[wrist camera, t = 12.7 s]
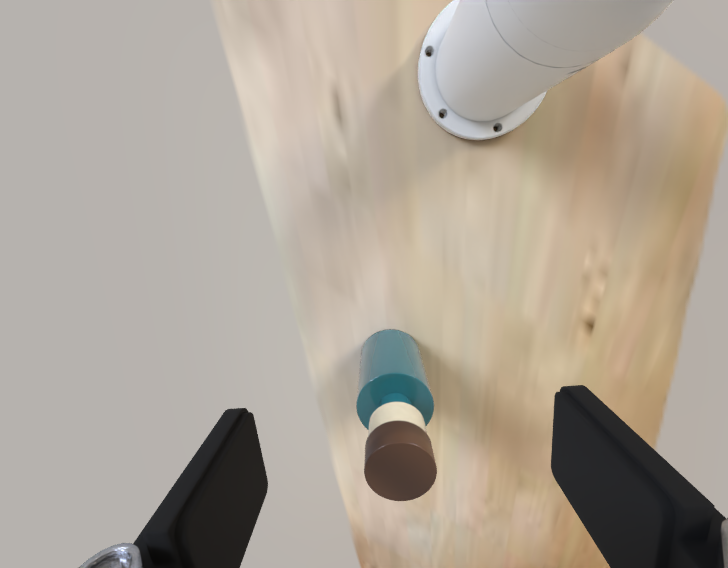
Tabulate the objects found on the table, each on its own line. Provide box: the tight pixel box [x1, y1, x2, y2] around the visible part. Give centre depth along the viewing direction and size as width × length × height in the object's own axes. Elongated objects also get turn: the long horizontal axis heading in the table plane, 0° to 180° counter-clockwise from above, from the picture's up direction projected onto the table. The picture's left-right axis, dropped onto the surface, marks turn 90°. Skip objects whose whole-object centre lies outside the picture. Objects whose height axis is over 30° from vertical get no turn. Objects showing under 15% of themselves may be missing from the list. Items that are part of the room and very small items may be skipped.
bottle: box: [357, 329, 434, 436], centre depth 33 cm, size 7×7×15 cm
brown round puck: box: [364, 420, 437, 501], centre depth 25 cm, size 5×5×2 cm
